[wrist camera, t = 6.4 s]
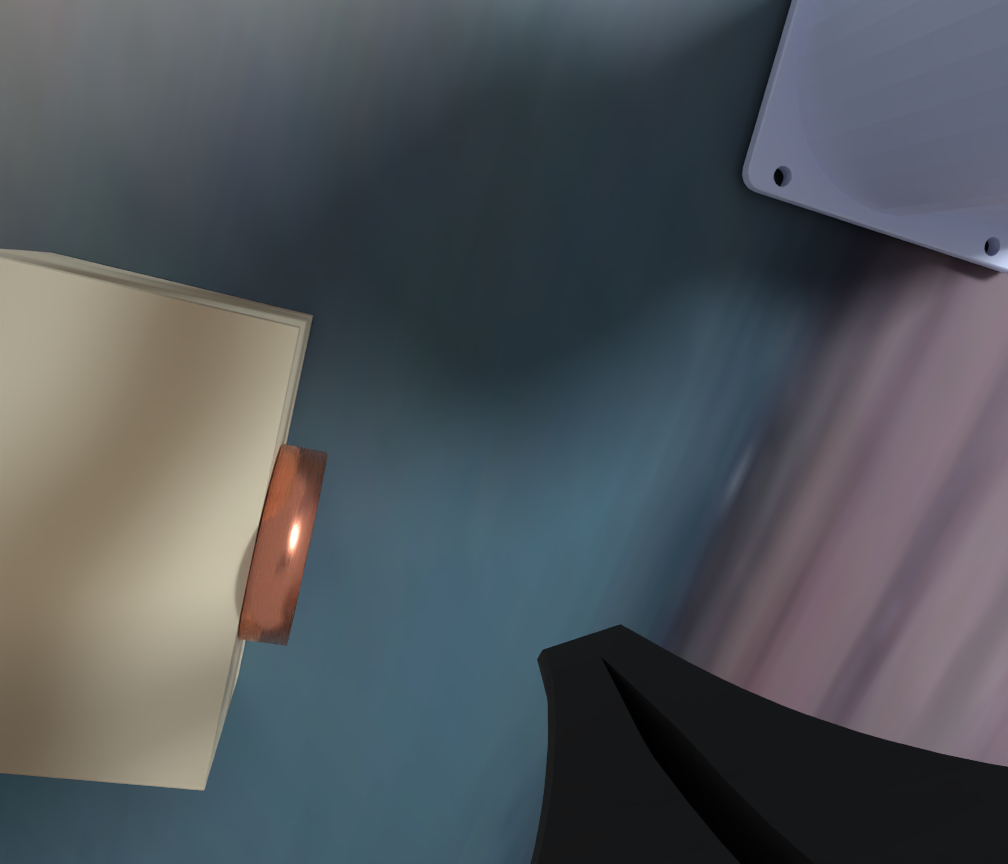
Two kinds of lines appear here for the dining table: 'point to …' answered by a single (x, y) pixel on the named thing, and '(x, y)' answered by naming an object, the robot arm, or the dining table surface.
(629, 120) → the dining table surface
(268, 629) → the pin
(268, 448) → the hitch block
